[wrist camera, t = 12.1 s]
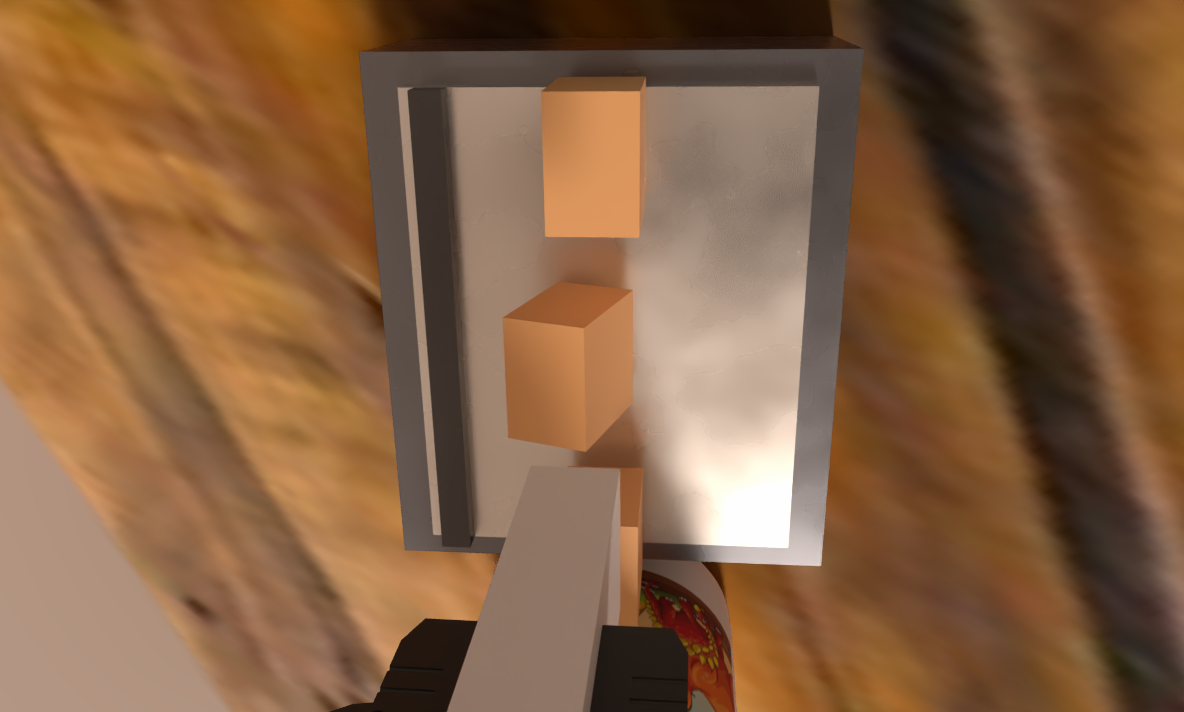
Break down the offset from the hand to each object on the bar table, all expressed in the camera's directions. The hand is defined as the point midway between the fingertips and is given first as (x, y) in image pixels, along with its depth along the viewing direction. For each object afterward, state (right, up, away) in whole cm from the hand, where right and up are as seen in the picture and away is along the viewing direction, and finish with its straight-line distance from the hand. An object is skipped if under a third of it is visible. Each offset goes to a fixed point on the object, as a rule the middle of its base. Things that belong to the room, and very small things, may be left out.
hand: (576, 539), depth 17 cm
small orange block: (+1, +4, +9) cm, 10 cm away
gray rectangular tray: (+1, +6, +14) cm, 15 cm away
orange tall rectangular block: (+1, +8, +7) cm, 11 cm away
